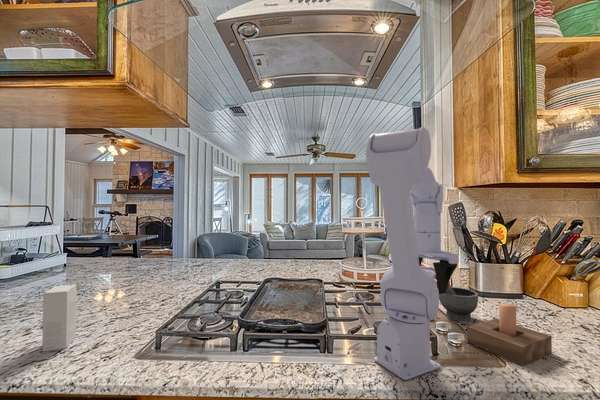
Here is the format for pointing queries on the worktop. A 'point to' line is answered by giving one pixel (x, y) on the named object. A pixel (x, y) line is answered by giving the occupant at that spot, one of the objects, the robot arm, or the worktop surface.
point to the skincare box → (59, 317)
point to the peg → (507, 319)
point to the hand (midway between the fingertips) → (427, 289)
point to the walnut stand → (510, 342)
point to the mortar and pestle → (458, 302)
